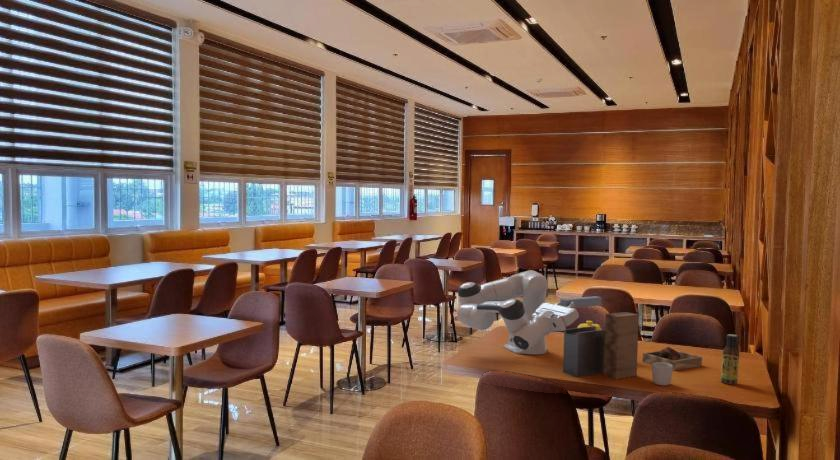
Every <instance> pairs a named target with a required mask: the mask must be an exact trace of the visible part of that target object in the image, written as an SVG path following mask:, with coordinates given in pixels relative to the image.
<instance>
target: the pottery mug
mask: <svg viewBox="0 0 840 460" xmlns="http://www.w3.org/2000/svg"><path fill="white" fill-rule="evenodd" d="M675 350H676V349H673V348H672V347H670V346H666V347H665V348H663V349H661V350H659V351H660V352H659V355H658V357H661V358H665V359H669V358H668V357H669V356H670V353H671V355H673V356H675V357H676V358H677V359H678V360H680V357H681V355H680V354H679V353H678V352H676V351H677V350H676V351H675Z"/></svg>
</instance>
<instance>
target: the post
mask: <svg viewBox="0 0 840 460" xmlns="http://www.w3.org/2000/svg"><path fill="white" fill-rule="evenodd" d="M639 315H640V314H636V313H633V312H627V311H625V312H624V311H623V312H621V311H620V312H613V313H605V326H604V329H605V352H604V373H603V376H605V377H609V378H611V379H615V380H619V379H620V378H621V379H625V378H626V377H627V378H631V376H632V377H637V375H638V349H639V347H638V345H639V344H638V343H639V319H640V318H639V317H640V316H639ZM627 378H626V379H627Z"/></svg>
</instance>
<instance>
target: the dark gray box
mask: <svg viewBox="0 0 840 460" xmlns="http://www.w3.org/2000/svg"><path fill="white" fill-rule="evenodd" d="M604 352H605V328H604V329H602V330H596V326H590V327H581V328H577V327H574V328H566V329H565V330H564V331H563V355H562V356H563V359H562V360H563V362H562V363H563V365H562V373H564V374H566V375H570V376H573V377H576V378H580V377H586V376H592V375H598V374H604Z"/></svg>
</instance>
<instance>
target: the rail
mask: <svg viewBox="0 0 840 460" xmlns="http://www.w3.org/2000/svg"><path fill="white" fill-rule="evenodd" d="M602 298H603V297H601V296H597V295H593V296H584V297H579V296H578V297H569V298H568V297H567V298H561V299H560V301H559V302H560V306H565V307H567V306H569V303H570V302H574V303H575V306H574V307H573V308H574V309H576V308H577V309H578V308H587V307H588V308H589V307H597V306H598V307H600V306H602Z"/></svg>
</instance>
